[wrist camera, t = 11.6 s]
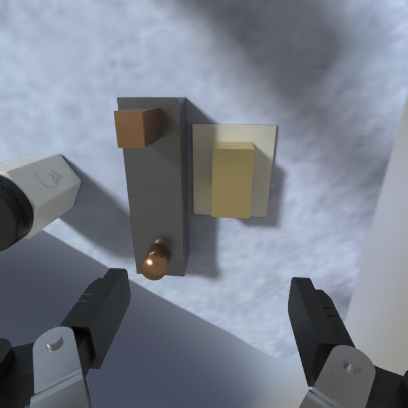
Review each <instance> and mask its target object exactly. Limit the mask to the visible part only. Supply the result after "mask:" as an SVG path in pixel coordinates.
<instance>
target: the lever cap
mask: <svg viewBox="0 0 408 408" xmlns="http://www.w3.org/2000/svg"><path fill="white" fill-rule="evenodd" d="M254 153H255V149H254V147H253V145H252V143H251V142H239V141H215V143H214V146H213V160H212V213H211V217H222V218H245V219H249V216H250V203H251V191H252V178H253V166H254Z"/></svg>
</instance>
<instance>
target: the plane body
mask: <svg viewBox="0 0 408 408" xmlns="http://www.w3.org/2000/svg"><path fill="white" fill-rule="evenodd" d="M117 101H118V110H119V111H114V117H115V126H116V134H117V142H118V148H123V154H124V163H125V172H126V181H127V190H128V198H129V207H130V216H131V225H132V234H133V243H134V252H135V260H136V269H137V274H143V275H144V276H145V277H146V278H147V279H150V280H159V279H161V278H162V277H163V276H164V275H171V276H184V274H185V270H186V266H187V262H188V258H189V221H188V173H187V124H186V97H117Z"/></svg>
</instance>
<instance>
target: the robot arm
mask: <svg viewBox="0 0 408 408" xmlns="http://www.w3.org/2000/svg"><path fill="white" fill-rule="evenodd" d="M129 303H130V287H129V280H128V273H127V270H126V269H119V268H110V269H109V270H108V272H107V273H106V275H105V276H104V278H98V279H97V280H95V281H94V282H93V283H91V284H90V285H89V286H88V288H87V289H86V290H85V292H84V293H83V295H82V296H81V297H80V298H79V301H78V302H77V303H76V304H75V305H74V307H73V308H72V310H71V311H70V312H69V314H68V315H67V317H66V318H65V319H64V321H63V322H62V324H61V325H60V326H59V327H57V328H53V329H51V330H49V331H47V332H45V333H44V334H42V335H41V336H40V337H39V338H38V339H37V341H36V342H35V343H30V344H26V345H21V346H16V347H12V346H11V343H10V341H9V340H7V339H3V338H0V408H24V407H25V406H26V405H30V407H31V408H93V407H92V403H91V398H90V393H89V389H88V385H87V380H86V375H87V373H88V371H89V369H90V368H93V369H100V367H101V364H102V362H103V360H104V358H105V356H106V354H107V352H108V349H109V347H110V345H111V343H112V341H113V338H114V336H115V334H116V332H117V330H118V328H119V326H120V323H121V321H122V319H123V317H124V315H125V312H126V311H127V308H128V306H129ZM288 313H289V318H290V322H291V325H292V329H293V333H294V336H295V340H296V344H297V347H298V351H299V355H300V358H301V361H302V366H303V369H304V373H305V377H306V380H307V384H308V386H309V387H313V389H312V390H309V391H308V392H307V394H306V395H305V398H304V399H303V401H302V403H301V405H300V407H299V408H408V371H406V373H405V374H404V376H401V375H398V374H396V373H392V372H390V371H387V370H384V369H381V368H379V367H377V366H374V365H373V363H372V361H371V360H370V359H369V358H368V357H367V356H366V355H365V354H364V353H363V352H361V351H360V350H358V349H356V348H355V346H354V344H353V342H352V340H351V338H350V336H349V334H348V332H347V330H346V328H345V326H344V324H343V322H342V320H341V318H340V317H339V314H338V312H337V310H336V308H335V306H334V304H333V302H332V299H331V298H330V297H329V296H328V295H327V294H326V293H325V292H324V291H323V290H316V289H315V288H314V286H313V284H312V281H311V279H310V278H301V277H293V278H292V281H291V287H290V294H289V300H288Z"/></svg>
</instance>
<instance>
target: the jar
mask: <svg viewBox="0 0 408 408" xmlns="http://www.w3.org/2000/svg"><path fill="white" fill-rule="evenodd" d="M80 185H81V179H80V178H79V177H78V176H77V175H76V173H75V172H74V171H73V170H72V168H71V167H70V166H69V165H68V164H67V162H66V161H65V160H64V159H63V157H62V156H61V155H60V154H58V153H54V154H28V155H24V156H21V157H18V158H14V159H11V160H7V161H4V162H1V163H0V251H3V250H5V249H7V248H9V247H11V246H12V245H13V244H15V243H16V242H18V241H19V240H21V239H29V238H31V237H32V236H33V235H35V234H36V233H38V232H39V231H40V230H42V229H43V228H45V227H46V226H47V225H49V224H50V223H52V222H53V221H54V220H56V219H57V218H59V217H60V216H61V215H63V214H64V213H65V212H67V211H68V210H70V209H71V208H72V207H73V206H74V203H75V200H76V197H77V194H78V191H79V188H80Z"/></svg>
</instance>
